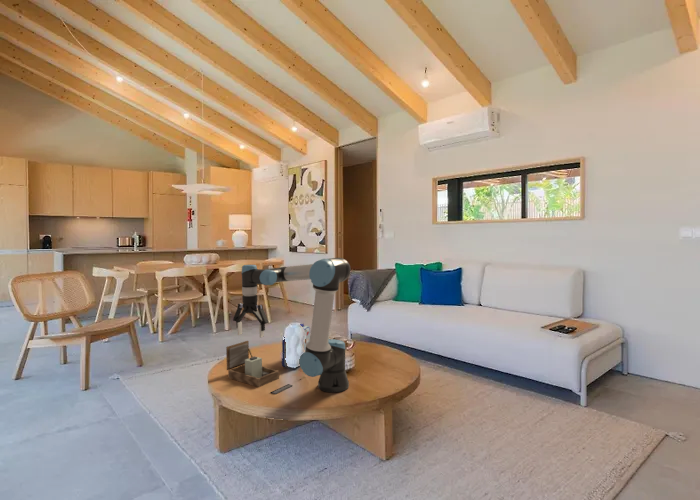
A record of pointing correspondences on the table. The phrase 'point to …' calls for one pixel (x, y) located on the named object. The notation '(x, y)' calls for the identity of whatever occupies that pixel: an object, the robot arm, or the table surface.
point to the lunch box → (307, 333)
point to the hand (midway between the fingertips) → (250, 335)
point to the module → (253, 367)
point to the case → (237, 358)
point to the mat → (281, 389)
